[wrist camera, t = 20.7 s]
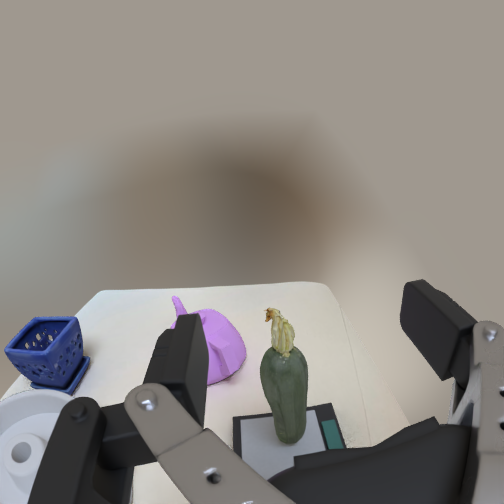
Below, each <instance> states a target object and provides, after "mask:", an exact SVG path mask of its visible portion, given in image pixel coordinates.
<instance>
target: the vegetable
mask: <svg viewBox="0 0 504 504" xmlns="http://www.w3.org/2000/svg"><path fill="white" fill-rule="evenodd" d="M265 311H267V313H266V320H265V322H268V321H269V320H270V319H271V318H272V319H273V321H272V326H271V334H272V339H271V343H272V347H271V348H269V349H268V350H267V351H266V352H265V354H264V356H263V359H262V362H261V366H260V378H261V383H262V387H263V390H264V394H265V397H266V399H267V401H268V403H269V405H270V407H271V410H272V414H273V418H274V426H275V430H276V435H277V437H278V439H279V440H280V441H281V442H283V443H285V444H295V443H297V442H298V441H299V440H300V439H301V438H302V437H303V435H304V433H305V429H306V423H307V420H306V408H307V391H308V367H307V362H306V360H305V357H304V355H303V354H302V353H301V351H300V350H299V349H298V348H296V347H295V346H294V344H293V340H294V337H295V333H294V329H293V327H292V326H291V324H289V323H288V320H286V319H284V317H283V316H282V315H281V314H280V311H279V310H277V309H273V308H268V309H267V310H265ZM270 316H271V318H270Z"/></svg>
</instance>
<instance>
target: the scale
mask: <svg viewBox="0 0 504 504" xmlns="http://www.w3.org/2000/svg"><path fill="white" fill-rule="evenodd" d="M306 420H307V423H306V429H305V433H304V435H303V437H302V438H301V439H300V440H299V441H298V442H297V443H295V444H285V443H283V442H281V441H280V440H279V439H278V437H277V435H276V430H275V426H274V418H273V414H272V413H266V414H257V415H248V416H237V417H233V451H234V452H235V453H236V454H237V455H238V456H239V457H240V458H241V459H242V460H243V461H245V462H246V463H247V464H248V465H249V466H250V467H251V468H253V469H254V470H255V471H256V472H257V473H258V474H260V475H261V476H262V477H263V478H264V479H265V480H268V479H269V478H270V477H272V476H274V475H275V474H277V473H279V472H281V471H283V470H285V469H287V468H290V467H292V466H294V459H293V456H298V455H304V454H309V453H315V452H320V451H325V450H329V449H344V448H346V445H345V442H344V439H343V436H342V433H341V430H340V427H339V424H338V421H337V418H336V415H335V412H334V409H333V406H332V403H327V404H322V405H317V406H312V407H307V408H306Z"/></svg>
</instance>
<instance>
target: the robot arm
mask: <svg viewBox="0 0 504 504" xmlns="http://www.w3.org/2000/svg"><path fill="white" fill-rule="evenodd" d="M400 323H401V327H402V329H403V331H404V332H405V333H406V335H407V336H408V337H409V338H410V340H411V341H412V342H413V344H414V345H415V346H416V347H417V349H418V350H419V351H420V352H421V354H422V355H423V356H424V357H425V359H426V360H427V362H428V363H429V364H430V366H431V367H432V368H433V370H434V371H435V372H436V374H437V375H438V376H439V378H440V379H441V380H442V381H444V380H446V379H449V378H451V377H454V378H455V380H454V383H453V386H452V395H451V402H450V410H449V416H448V421H447V424H440V425H439V423H438V422H437V420H436V418H435V417H431V418H429V419H426V420H424V421H421V422H419V423H416V424H413V425H411V426H408V427H405V428H404V429H402V430H400V431H399V432H397V433H396V434H394V435H393V436H391V437H389V438H388V439H386V440H384V441H383V442H381V443H379V444H377V445H375V446H373V447H364V448H344V449H329V450H325V451H320V452H315V453H309V454H304V455H298V456H293V459H294V466H292V467H290V468H287V469H285V470H283V471H281V472H279V473H277V474H275V475H274V476H272V477H270V478H269V479H268V480H265V479H264V478H263V477H262V476H261V475H260V474H258V473H257V472H256V471H255V470H254V469H253V468H251V467H250V466H249V465H248V464H247V463H246V462H245V461H243V460H242V459H241V458H240V457H239V456H238V455H237V454H236V453H235V452H234V451H233V450H232V449H230V448H229V447H228V446H227V445H226V444H225V443H224V442H223V441H222V440H221V439H220V438H219V437H218V436H217V435H216V434H215V433H214V432H213V431H212V430H210V429H209V428H205V429H203V428H204V415H205V403H206V391H207V380H208V369H209V351H208V346H207V342H206V338H205V334H204V330H203V325H202V321H201V317H200V315H199V313H193V314H183V315H178V318H177V321H176V324H175V328H174V329H166V330H165V331H164V332H163V333H162V334H161V335H160V336H159V337H158V340H157V343H156V345H155V349H154V351H153V354H152V357H151V360H150V363H149V366H148V369H147V372H146V375H145V378H144V381H143V384H142V385H140V386H137V387H136V388H134V389H133V390H131V391H130V392H129V393H128V395H127V396H126V398H125V401H124V402H123V403H120V404H115V405H111V406H106V407H101V408H100V407H99V405H98V403H97V402H96V401H95V400H94V399H92V398H89V397H78V398H75V399H73V400H71V401H69V402H68V403H67V404H66V405H65V406H64V407H63V408H62V410H61V412H60V414H59V416H58V419H57V421H56V424H55V426H54V428H53V431H52V433H51V436H50V438H49V441H48V443H47V446H46V449H45V451H44V454H43V457H42V460H41V462H40V465H39V468H38V471H37V474H36V477H35V480H34V483H33V486H32V489H31V492H30V496H29V499H28V503H27V504H129V503H130V495H131V487H132V480H133V473H134V466H138V465H143V464H148V463H153V462H157V461H158V462H159V464H160V465H161V466H162V468H163V469H164V471H165V472H166V473H167V475H168V476H169V477H170V479H171V480H172V481H173V483H174V484H175V485H176V486H177V488H178V489H179V490H180V491H181V493H182V494H183V495H184V496H185V498H186V499H187V500H188V501H189V502H190V504H504V329H503V327H501V326H500V325H499V324H497V323H494V322H492V321H480V322H477V321H476V320H475V319H474V318H473V317H472V316H471V315H470V314H468V313H467V312H466V311H465V310H464V309H463V308H462V307H461V306H459V305H458V304H457V303H456V302H455V301H453V300H452V299H451V298H450V297H449V296H448V295H447V294H445V293H443V292H441V291H439V290H436V289H435V288H433V287H432V286H431V285H430V284H429V283H427V282H426V281H425V280H423V279H421V280H416V281H411V282H407V283H406V284H405V286H404V291H403V298H402V305H401V312H400Z"/></svg>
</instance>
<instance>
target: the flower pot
mask: <svg viewBox="0 0 504 504" xmlns="http://www.w3.org/2000/svg"><path fill="white" fill-rule="evenodd" d="M45 329H46V330H45ZM55 331H57V333H56V332H55ZM38 333H39V335H40V337H41V339H40V340H39V341H38V340H37V338H36V335H37V334H38ZM43 333H44V334H45V335H44V334H43ZM48 335H51V336H52V339H53V341H51V340H49V337H48ZM26 342H27V343H28V345H29V347H28V349H27V348H26V347H25V344H26ZM33 342H35V346H33ZM47 343H48V344H47ZM41 345H42V347H41ZM4 351H5V353H6V355H7V357H8V358H9V360H10V361H11V362H12V364H13V365H14V366H15V367H16V368H17V369H18V371H20V372H21V373H22V374H23V375H24V376H25V377H27V378H28V379H29V380H31V381H32V383H31V385H30V386H31V387H32V388H35V389H49V390H56V391H60V392H63V393H66V394H68V395H71V394H72V392H73V391H74V389H75V387H76V386H77V384H78V382H79V381H80V379H81V377H82V376H83V374H84V372H85V371H86V369H87V367H88V365H89V362H90V357H88V356H83V340H82V334H81V329H80V325H79V321H78V319H77V317H35V318H33V319H32V320H31V321H30V322H29V323H28V324H27V325H26V326H25V327H24V328H23V329H22V330H21V331H20V332H19V333H18V334H17V335H16V336H15V337H14V338H13V339H12V340H11V341H10V342H9V344H8V345H7V346H6V347H5V349H4Z"/></svg>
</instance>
